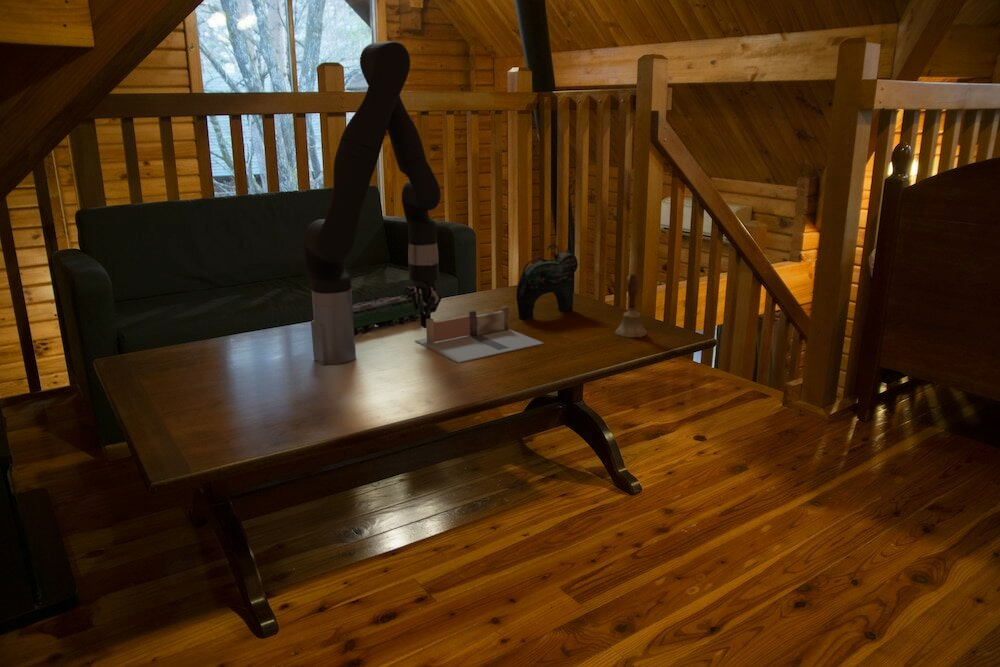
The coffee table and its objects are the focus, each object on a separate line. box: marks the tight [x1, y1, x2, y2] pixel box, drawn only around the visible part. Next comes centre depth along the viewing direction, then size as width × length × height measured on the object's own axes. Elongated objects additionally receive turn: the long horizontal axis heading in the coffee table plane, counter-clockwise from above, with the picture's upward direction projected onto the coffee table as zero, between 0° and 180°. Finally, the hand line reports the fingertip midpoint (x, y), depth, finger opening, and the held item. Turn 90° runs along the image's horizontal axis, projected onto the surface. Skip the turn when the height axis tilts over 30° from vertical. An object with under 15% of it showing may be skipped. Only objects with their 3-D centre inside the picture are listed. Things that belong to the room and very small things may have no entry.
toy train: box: [353, 285, 420, 335], centre depth 213 cm, size 5×31×10 cm, turn 132°
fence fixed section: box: [468, 305, 510, 336], centre depth 207 cm, size 12×2×6 cm, turn 125°
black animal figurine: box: [515, 243, 578, 321], centre depth 223 cm, size 20×6×20 cm, turn 124°
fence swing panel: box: [425, 315, 470, 343], centre depth 200 cm, size 12×2×6 cm, turn 125°
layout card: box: [414, 328, 544, 364], centre depth 200 cm, size 26×21×1 cm
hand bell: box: [614, 273, 648, 339], centre depth 205 cm, size 8×8×16 cm
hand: (425, 327), depth 202 cm, fingers closed
